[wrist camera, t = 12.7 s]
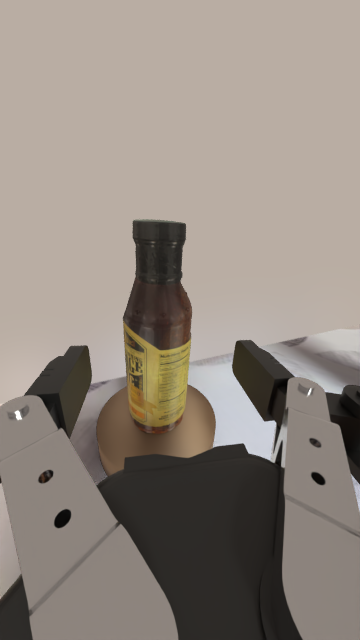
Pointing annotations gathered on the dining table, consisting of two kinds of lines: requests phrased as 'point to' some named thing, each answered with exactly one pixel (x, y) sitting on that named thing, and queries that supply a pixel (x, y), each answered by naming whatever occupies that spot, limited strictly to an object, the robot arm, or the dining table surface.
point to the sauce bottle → (157, 328)
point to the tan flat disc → (128, 440)
